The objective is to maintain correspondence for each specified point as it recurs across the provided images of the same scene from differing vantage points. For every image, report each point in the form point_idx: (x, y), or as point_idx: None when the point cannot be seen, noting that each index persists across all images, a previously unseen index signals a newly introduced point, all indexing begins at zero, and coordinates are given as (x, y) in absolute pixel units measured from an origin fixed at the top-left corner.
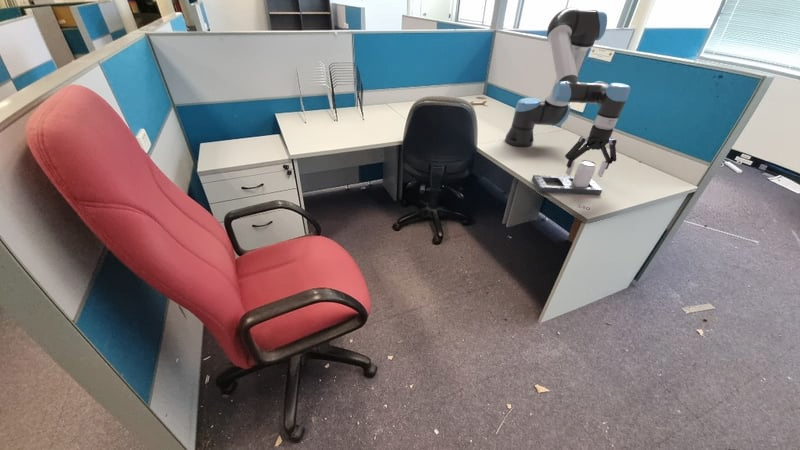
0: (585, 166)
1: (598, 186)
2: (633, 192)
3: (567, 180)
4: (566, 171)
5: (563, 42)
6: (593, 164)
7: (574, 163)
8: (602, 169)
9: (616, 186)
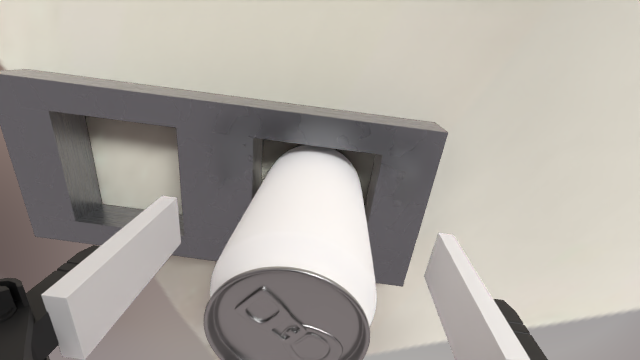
0: (235, 351)
1: (408, 251)
2: (632, 252)
3: (231, 168)
4: (155, 205)
5: None
6: (340, 346)
7: (101, 338)
8: (448, 318)
9: (595, 182)
